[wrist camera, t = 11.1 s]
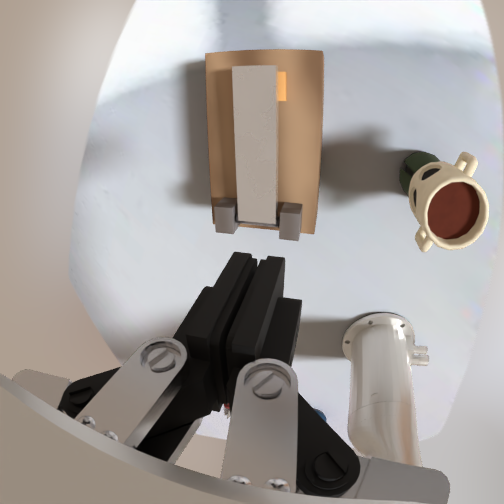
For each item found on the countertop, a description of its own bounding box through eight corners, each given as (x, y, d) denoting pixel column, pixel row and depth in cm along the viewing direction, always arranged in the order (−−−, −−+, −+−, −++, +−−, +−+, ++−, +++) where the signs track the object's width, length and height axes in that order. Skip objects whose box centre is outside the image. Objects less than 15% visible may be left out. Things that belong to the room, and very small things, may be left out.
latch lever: (281, 65, 24) (279, 65, 23) (280, 224, 33) (278, 229, 32) (232, 66, 25) (228, 66, 24) (239, 220, 34) (235, 225, 33)
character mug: (416, 123, 30) (456, 141, 19) (461, 152, 30) (511, 183, 19) (378, 198, 36) (396, 247, 25) (423, 222, 36) (452, 277, 25)
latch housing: (323, 57, 29) (321, 46, 22) (317, 214, 39) (312, 246, 32) (224, 58, 32) (193, 50, 24) (228, 205, 42) (203, 234, 34)
